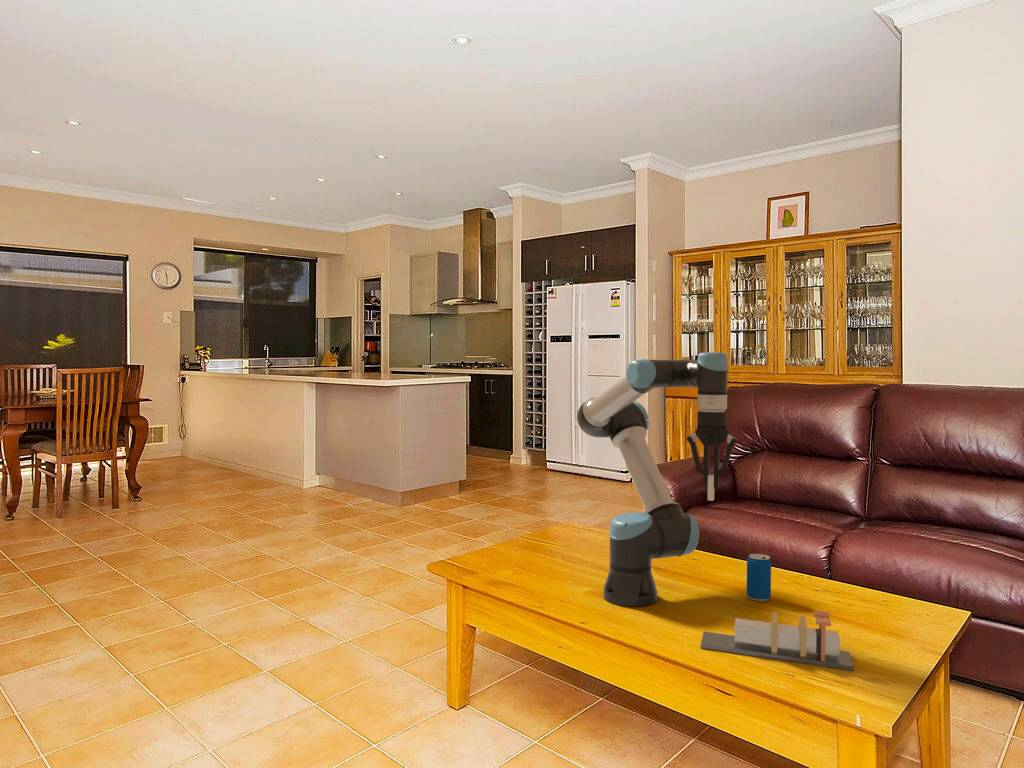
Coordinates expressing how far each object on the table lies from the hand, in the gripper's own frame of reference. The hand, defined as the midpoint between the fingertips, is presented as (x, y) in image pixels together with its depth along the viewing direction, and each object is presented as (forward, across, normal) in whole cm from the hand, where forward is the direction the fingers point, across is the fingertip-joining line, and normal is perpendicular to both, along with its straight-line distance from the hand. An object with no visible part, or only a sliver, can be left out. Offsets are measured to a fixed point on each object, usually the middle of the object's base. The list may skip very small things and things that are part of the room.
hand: (710, 499), depth 179 cm
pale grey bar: (+28, +18, -20) cm, 39 cm away
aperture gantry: (+30, +26, -20) cm, 45 cm away
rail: (+30, +16, -20) cm, 40 cm away
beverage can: (+31, +12, +17) cm, 37 cm away
